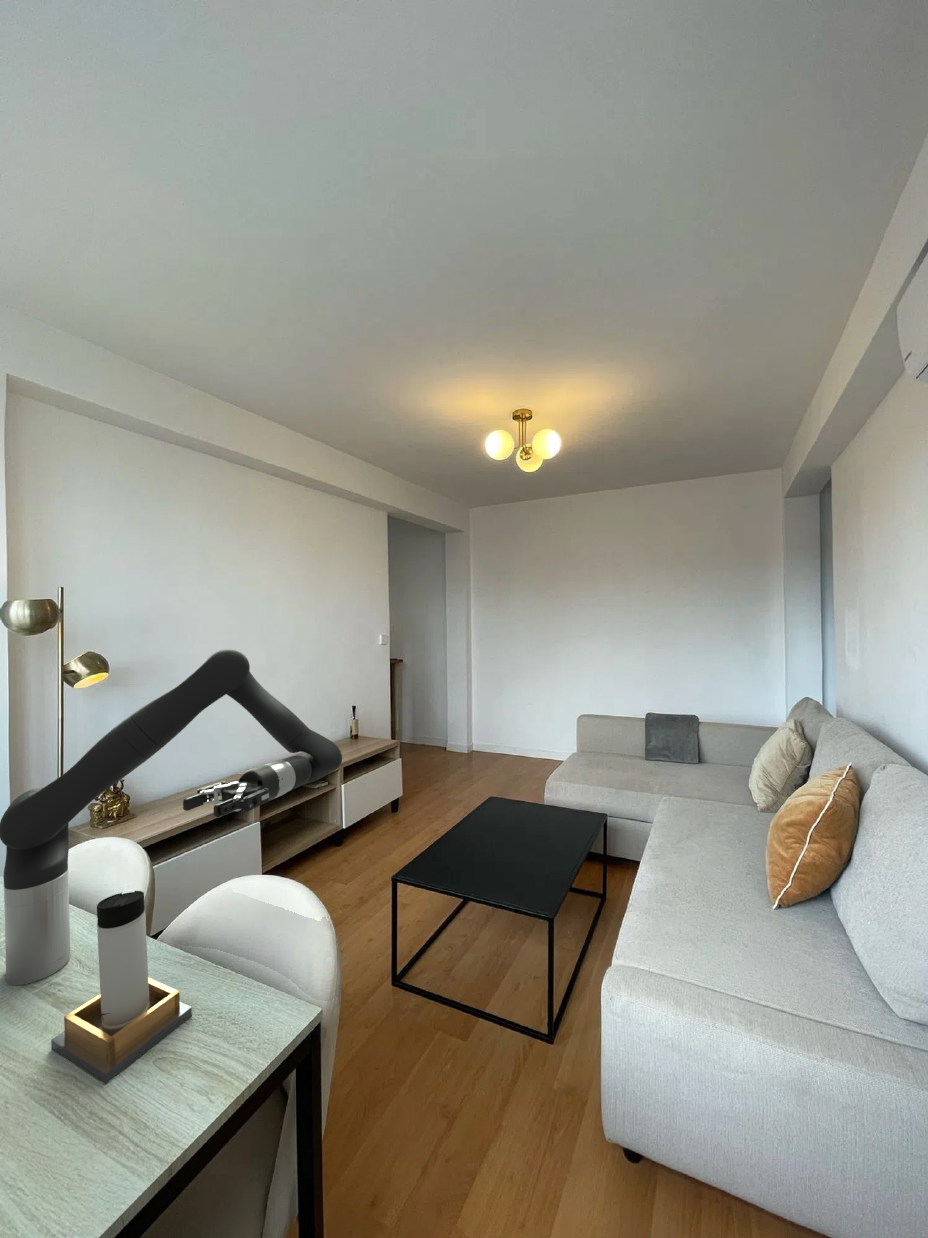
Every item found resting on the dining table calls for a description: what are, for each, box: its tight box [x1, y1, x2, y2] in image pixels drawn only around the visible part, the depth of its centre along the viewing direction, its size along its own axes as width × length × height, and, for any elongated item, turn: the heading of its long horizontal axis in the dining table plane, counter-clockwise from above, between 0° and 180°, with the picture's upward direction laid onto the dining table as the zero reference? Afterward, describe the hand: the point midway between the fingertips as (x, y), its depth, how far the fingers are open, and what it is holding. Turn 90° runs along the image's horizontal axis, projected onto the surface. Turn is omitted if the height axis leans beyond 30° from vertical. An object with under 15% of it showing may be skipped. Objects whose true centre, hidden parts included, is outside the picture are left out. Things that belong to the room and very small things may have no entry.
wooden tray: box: [50, 977, 193, 1085], centre depth 78 cm, size 14×13×4 cm
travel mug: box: [96, 890, 150, 1036], centre depth 78 cm, size 6×7×20 cm
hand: (199, 808), depth 92 cm, fingers open, 8 cm apart
